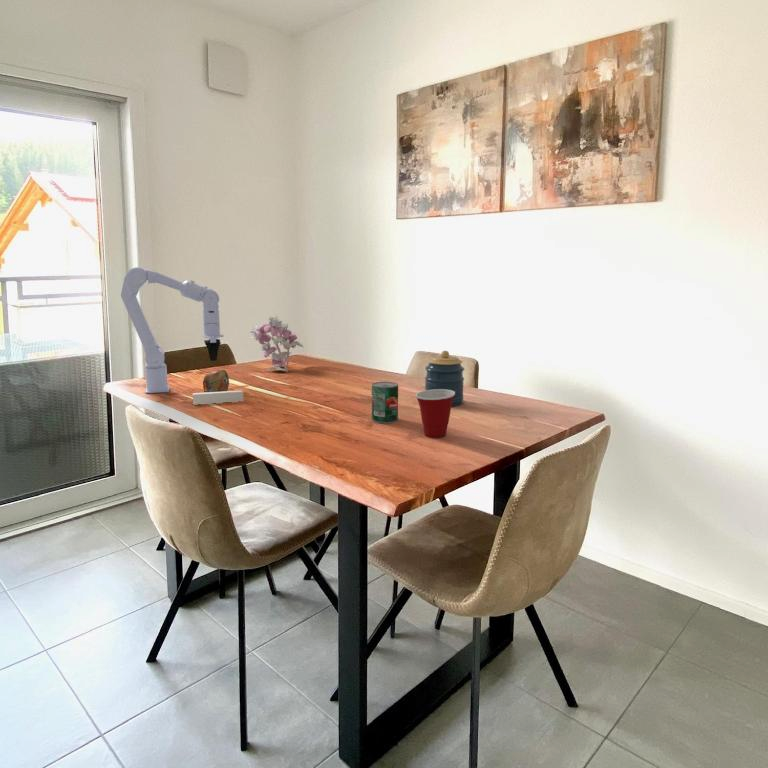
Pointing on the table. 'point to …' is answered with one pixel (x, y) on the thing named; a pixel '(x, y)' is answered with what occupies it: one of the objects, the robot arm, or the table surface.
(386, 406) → the canned tomato
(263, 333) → the flower
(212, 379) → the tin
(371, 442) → the table surface
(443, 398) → the plastic cup
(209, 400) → the board
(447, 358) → the canister
